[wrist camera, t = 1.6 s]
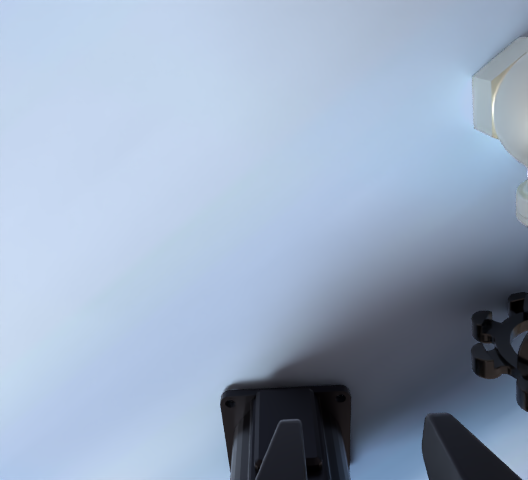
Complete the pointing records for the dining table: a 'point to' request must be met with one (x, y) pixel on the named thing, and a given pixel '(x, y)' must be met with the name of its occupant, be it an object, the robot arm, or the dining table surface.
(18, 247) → the dining table surface
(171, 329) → the dining table surface
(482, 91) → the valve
